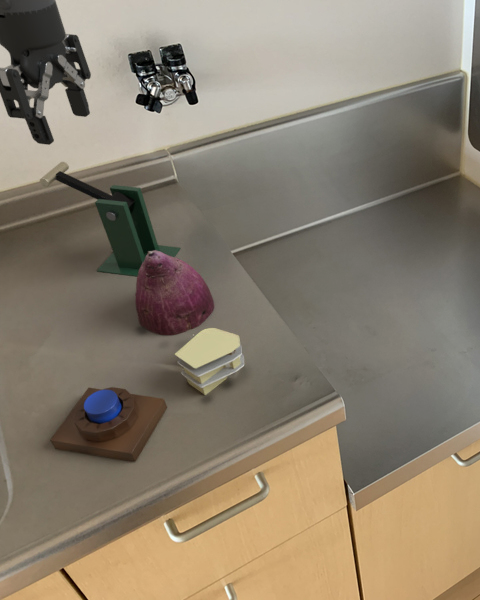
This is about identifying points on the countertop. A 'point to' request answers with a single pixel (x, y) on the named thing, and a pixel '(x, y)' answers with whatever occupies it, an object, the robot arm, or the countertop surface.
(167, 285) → the vegetable
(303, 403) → the countertop surface
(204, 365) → the yellow layered block
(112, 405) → the button
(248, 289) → the countertop surface
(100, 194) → the lever
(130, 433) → the switch box
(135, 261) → the switch bracket
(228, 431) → the countertop surface
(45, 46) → the robot arm
